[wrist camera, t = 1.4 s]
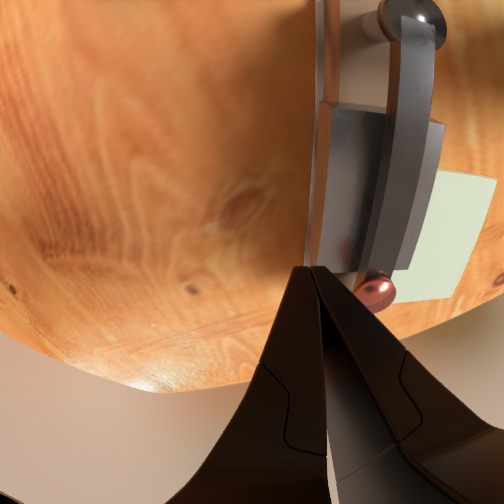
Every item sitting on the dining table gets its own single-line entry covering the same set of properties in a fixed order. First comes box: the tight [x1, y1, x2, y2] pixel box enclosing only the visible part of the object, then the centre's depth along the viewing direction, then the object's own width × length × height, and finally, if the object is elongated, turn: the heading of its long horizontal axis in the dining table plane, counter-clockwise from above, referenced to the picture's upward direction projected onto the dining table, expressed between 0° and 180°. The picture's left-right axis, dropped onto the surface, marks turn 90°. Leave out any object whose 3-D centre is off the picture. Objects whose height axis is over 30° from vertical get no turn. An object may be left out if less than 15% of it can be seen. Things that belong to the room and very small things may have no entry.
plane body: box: [303, 0, 390, 292], centre depth 15 cm, size 21×5×7 cm, turn 1°
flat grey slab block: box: [309, 100, 445, 273], centre depth 15 cm, size 6×9×2 cm, turn 1°
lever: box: [352, 0, 447, 313], centre depth 11 cm, size 16×3×2 cm, turn 1°
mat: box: [391, 168, 497, 303], centre depth 23 cm, size 12×14×1 cm
